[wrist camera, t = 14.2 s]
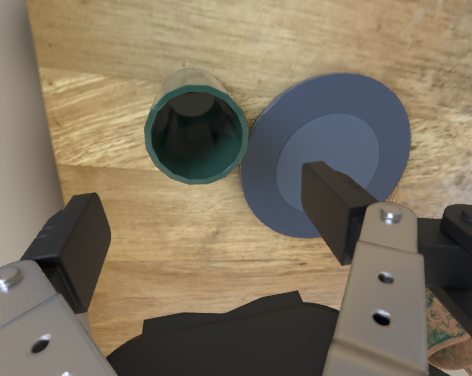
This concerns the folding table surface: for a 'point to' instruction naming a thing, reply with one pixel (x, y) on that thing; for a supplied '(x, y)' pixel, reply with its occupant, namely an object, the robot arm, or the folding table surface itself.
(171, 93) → the cup
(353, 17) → the folding table surface
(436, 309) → the mug
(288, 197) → the plate
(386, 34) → the folding table surface
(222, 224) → the folding table surface
